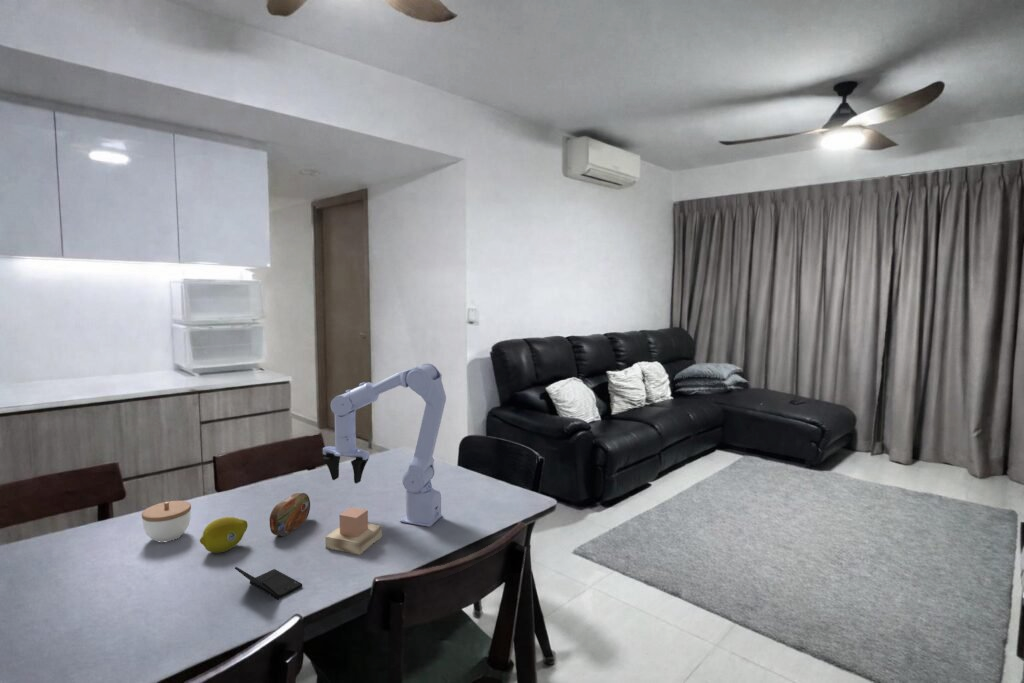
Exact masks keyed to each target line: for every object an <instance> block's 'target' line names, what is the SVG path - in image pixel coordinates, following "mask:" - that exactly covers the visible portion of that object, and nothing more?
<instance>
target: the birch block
mask: <svg viewBox="0 0 1024 683" xmlns="http://www.w3.org/2000/svg"><path fill="white" fill-rule="evenodd" d="M382 537H383V526H382V525H381V524H380V525H379V524H374V523H369V522H368V529H367V530H365V531H364V532H363V533H361V534H360V535H359V536H357V537H354V536H349V535H344V534H340V526H339V527H337V528H336V529H334V530H333V531H331V532H330V533H329V534H327V535H325V549H329V548H331V549H330V550H334V549H335V550H334V551H339V550H340V551H339V552H344V551H345V553H349V552H350V553H349V554H353V555H359V556H360V555H361V554H363V553H364V552H366V550H367V549H369V548H370V547H371V546H373V545H374V544H375V543H376V542H377V541H378V540H380V539H381V538H382ZM373 543H374V544H373ZM363 551H364V552H363Z"/></svg>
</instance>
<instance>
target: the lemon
mask: <svg viewBox="0 0 1024 683" xmlns="http://www.w3.org/2000/svg"><path fill="white" fill-rule="evenodd" d="M248 524H249V523H248V522H247V520H245V519H240V518H238V517H234V516H226V517H221V518H217V519H215V520H213V521H211V522H210V523H208V524H207V526H205V528H204V530H203V533H202V536H201V537H200V539H199V543H200V544H201V545H202V546H203V547H204V548H205V550H206V551H208V552H210V553H216V554H217V553H220V554H221V553H224V552H228V551H229V550H231V549H233V548H234V547H235V546H237V545H238V544H239V543H240V541H241V540H242V539H243V537H244V534H245V533H246V531H247V529H248Z"/></svg>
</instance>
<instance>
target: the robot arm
mask: <svg viewBox="0 0 1024 683" xmlns="http://www.w3.org/2000/svg"><path fill="white" fill-rule="evenodd" d="M400 386H401V387H403V388H404V389H405V388H408V387H409V388H410V390H412V391H413V392H414V393H415V394H417V395H419V396H420V397H421V398H422V400H423V401H424V402H425V407H424V411H423V415H422V419H421V423H420V428H419V432H418V436H417V441H416V446H415V449H414V453H413V457H412V459H411V462H410V463H409V465H408V469H407V471H406V472H405V473H404V474H403V477H402V485H403V488H404V489H405V498H406V499H405V501H406V502H405V505H406V506H405V510H406V512H405V515H404V516H403V517H402V518H401V519H400V520H399V522H401V523H406V524H411V525H417V526H423V527H428V528H429V527H430V528H431V527H432V526H433V525H434V524H435V523H436V522H437V521H438V520H439V519H441V517H442V516H443V514H442V494H441V492H440V490H437V489H435V488H433V485H432V481H431V480H432V479H433V478H434V476H435V468H434V463H435V459H434V457H433V455H434V451H435V447H436V443H437V439H438V436H439V435H438V434H439V429H440V427H441V423H442V417H443V414H444V410H445V404H446V401H447V396H446V395H447V394H446V391H445V389H444V385H443V381H442V373H441V372H440V371H439V369H438V368H437V367H436V366H435V365H434V364H432V363H423V364H422V365H420V366H414V367H411V368H407V369H404V370H402V371H398V372H397V373H394V374H393V375H391V376H389V377H387V378H385V379H383V380H381V381H378V382H377V383H372V382H370V381H368V382H365V381H364V382H361V383H359V384H358V386H356V387H354V388H352V389H350V388H349V389H347V390H345V393H342V394H339V395H336V396H335V397H333V398H332V399H331V401H330V410H331V412H332V413H333V415H334V446H329V445H328V446H324V447H323V448H322V455H324V457H323V458H322V459H323V462H324V463H325V464H326V466H327V468H328V471H329V472H330V476H331V480H332V481H335V480H338V479H339V476H340V460H341V457H345V458H346V457H347V458H353V460H351V461H350V464H351V466H352V471H353V482H354V484H356V485H357V484H358V483H360V482H362V477H363V472H364V470H365V467H366V465H367V463H368V461H369V459H370V451H367V450H363V449H361V448H358V447H357V434H356V431H357V430H356V415H357V414H356V413H357V412H356V411H357V410H360V409H361V408H363V407H365V406H367V405H369V404H370V405H371V404H373V403H374V402H376V401H377V400H378V398H379V395H380V394H383V393H385V392H387V391H390V390H392V389H395V388H397V387H400ZM354 458H355V459H354Z"/></svg>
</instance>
